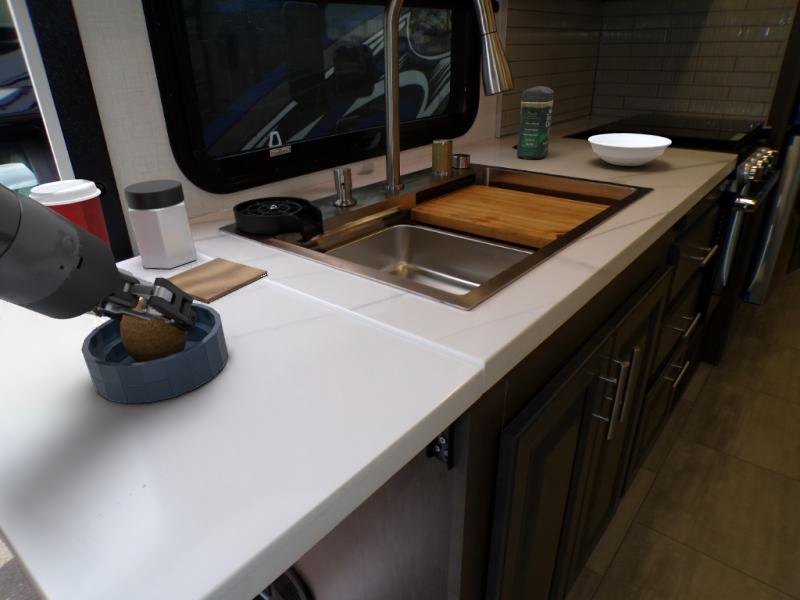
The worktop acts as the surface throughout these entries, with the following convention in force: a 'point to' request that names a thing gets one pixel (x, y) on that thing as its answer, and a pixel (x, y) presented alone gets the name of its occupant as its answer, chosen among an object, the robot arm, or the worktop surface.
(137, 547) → the worktop surface
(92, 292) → the robot arm
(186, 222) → the jar
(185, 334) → the fruit
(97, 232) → the coffee cup
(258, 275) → the board
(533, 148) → the green canister
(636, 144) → the bowl
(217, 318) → the glazed bowl
